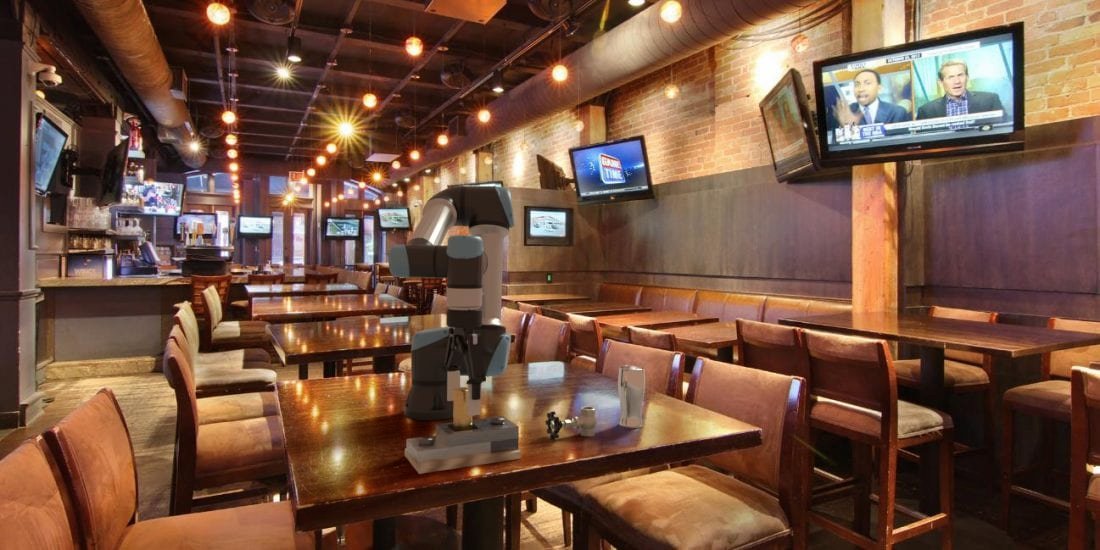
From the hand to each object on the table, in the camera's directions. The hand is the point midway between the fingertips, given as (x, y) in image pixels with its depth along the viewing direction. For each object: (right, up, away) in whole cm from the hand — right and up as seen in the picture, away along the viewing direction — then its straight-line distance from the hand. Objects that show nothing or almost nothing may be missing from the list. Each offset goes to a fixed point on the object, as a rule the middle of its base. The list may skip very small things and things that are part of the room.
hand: (463, 407), depth 127 cm
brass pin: (0, -9, 0) cm, 9 cm away
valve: (+24, -11, +17) cm, 31 cm away
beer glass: (+39, -11, +27) cm, 49 cm away
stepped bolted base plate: (0, -9, 0) cm, 9 cm away
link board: (0, -11, 0) cm, 11 cm away
